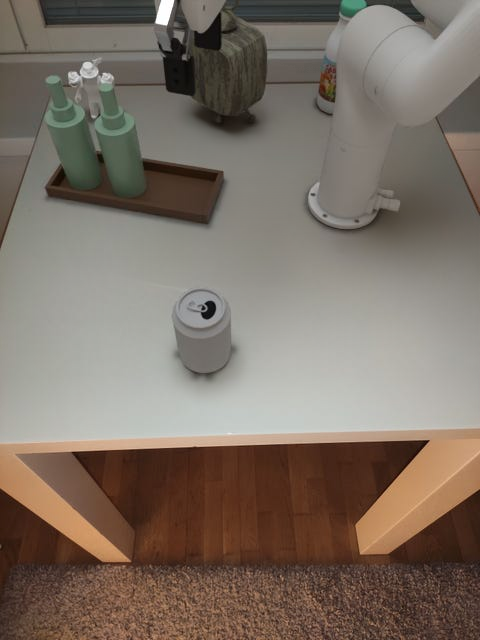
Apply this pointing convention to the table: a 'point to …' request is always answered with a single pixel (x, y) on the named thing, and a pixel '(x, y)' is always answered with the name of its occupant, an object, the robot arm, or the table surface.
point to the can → (202, 329)
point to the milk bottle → (335, 55)
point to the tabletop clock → (231, 68)
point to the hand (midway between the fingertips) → (195, 69)
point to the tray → (152, 190)
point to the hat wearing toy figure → (90, 84)
